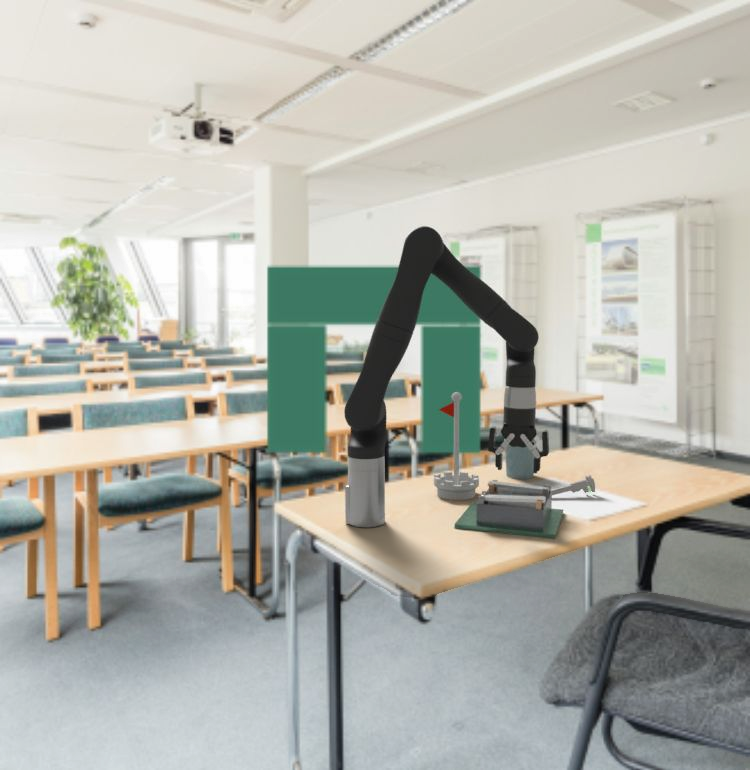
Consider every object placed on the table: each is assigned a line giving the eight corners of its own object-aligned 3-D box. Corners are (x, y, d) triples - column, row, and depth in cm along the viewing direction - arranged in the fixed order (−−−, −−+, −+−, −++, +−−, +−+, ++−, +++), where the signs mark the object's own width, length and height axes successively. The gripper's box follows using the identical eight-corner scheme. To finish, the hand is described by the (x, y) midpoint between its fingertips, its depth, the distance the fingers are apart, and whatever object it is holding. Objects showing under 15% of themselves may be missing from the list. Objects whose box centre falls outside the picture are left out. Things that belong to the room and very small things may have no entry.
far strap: (549, 491, 176) (549, 486, 175) (548, 494, 173) (548, 489, 173) (489, 484, 181) (489, 479, 181) (487, 486, 178) (487, 482, 178)
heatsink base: (454, 527, 166) (454, 496, 166) (473, 504, 186) (473, 477, 185) (555, 538, 158) (555, 506, 157) (563, 513, 177) (564, 484, 177)
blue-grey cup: (533, 472, 222) (534, 436, 221) (538, 480, 212) (538, 442, 211) (502, 472, 223) (502, 436, 222) (505, 479, 213) (505, 442, 212)
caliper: (593, 495, 195) (593, 474, 195) (594, 496, 194) (595, 475, 193) (526, 499, 191) (526, 478, 191) (528, 500, 190) (528, 478, 190)
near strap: (479, 501, 167) (479, 496, 167) (482, 498, 170) (481, 493, 170) (544, 503, 162) (544, 498, 161) (545, 500, 164) (545, 495, 164)
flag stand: (477, 489, 203) (478, 389, 199) (480, 501, 190) (481, 394, 186) (433, 488, 204) (434, 389, 201) (433, 500, 191) (433, 394, 188)
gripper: (487, 405, 162) (485, 471, 163) (548, 408, 157) (545, 477, 158) (493, 401, 169) (491, 465, 170) (551, 404, 164) (549, 470, 165)
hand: (517, 471), depth 164 cm, fingers open, 8 cm apart
